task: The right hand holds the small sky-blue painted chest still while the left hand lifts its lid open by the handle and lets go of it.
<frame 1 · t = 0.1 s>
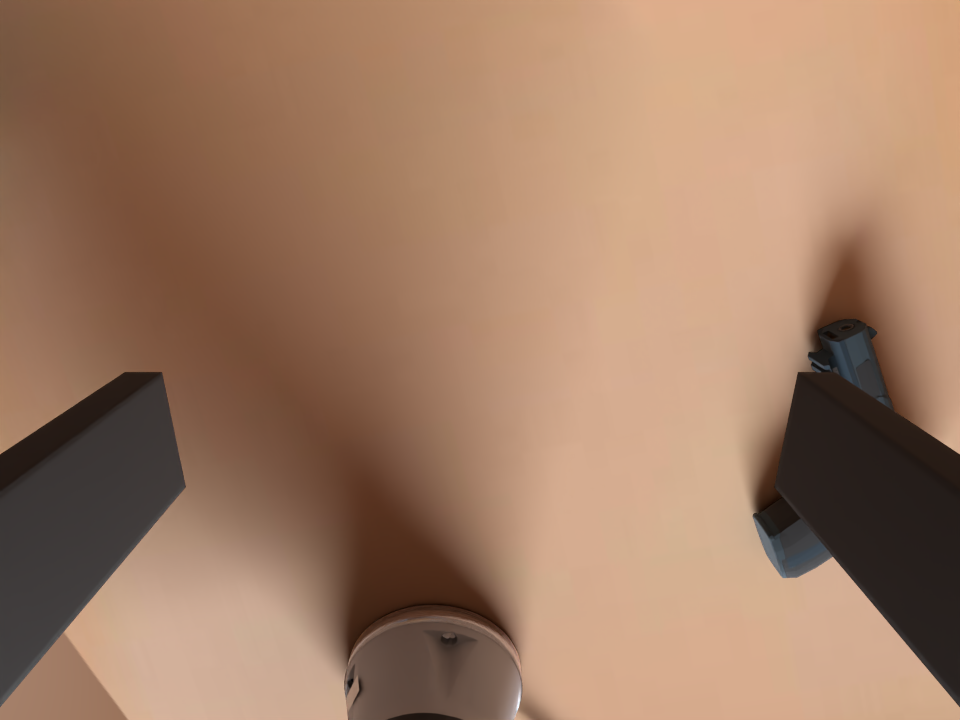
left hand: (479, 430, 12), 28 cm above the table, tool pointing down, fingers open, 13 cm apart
handgun: (808, 444, 44), on the table
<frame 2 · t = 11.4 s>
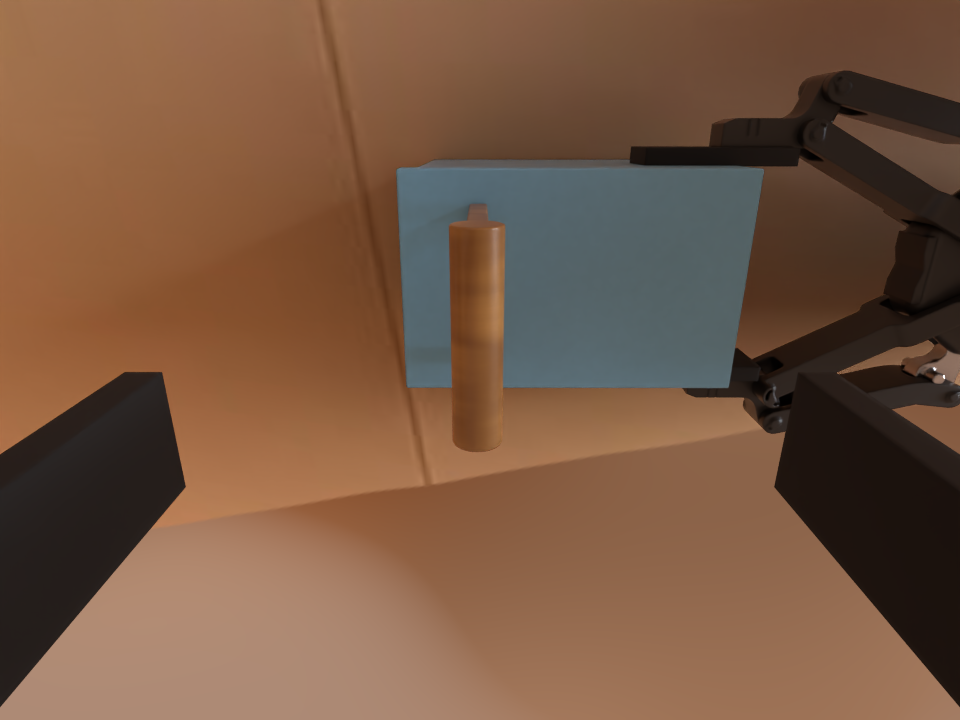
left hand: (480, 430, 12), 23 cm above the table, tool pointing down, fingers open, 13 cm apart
right hand: (627, 266, 28), fingers closed on chest, 9 cm apart
lid: (587, 307, 21), point 13 cm above the table, hinge at 0.0°
chest: (554, 244, 33), on the table, touching right hand
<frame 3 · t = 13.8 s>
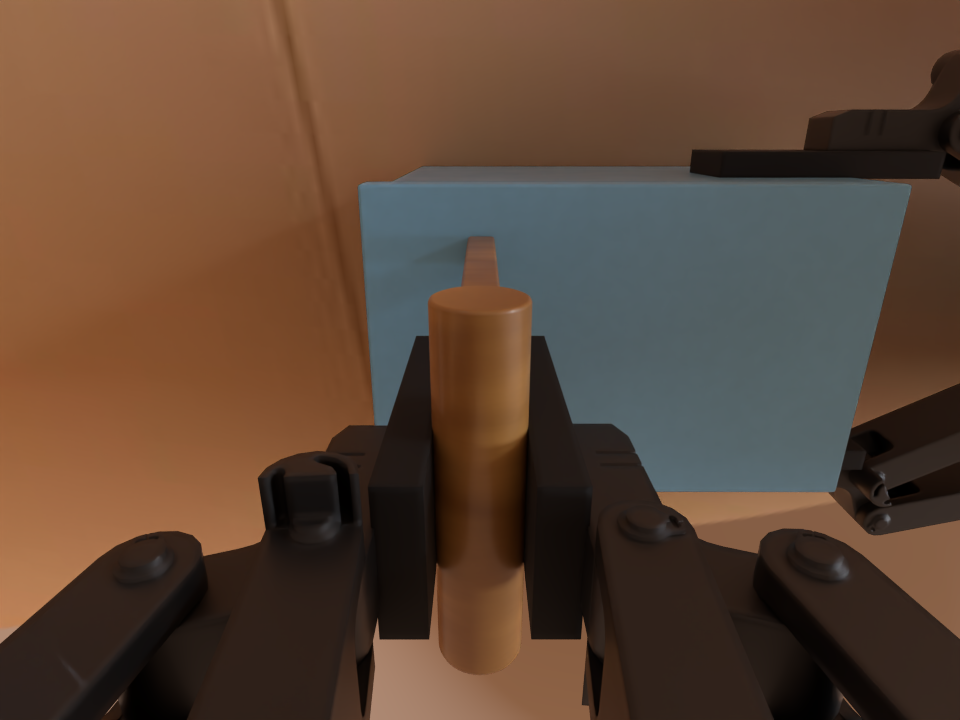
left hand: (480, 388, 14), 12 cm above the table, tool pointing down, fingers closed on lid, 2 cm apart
lid: (651, 403, 13), point 13 cm above the table, hinge at -0.1°, touching left hand
chest: (578, 276, 26), on the table, touching right hand
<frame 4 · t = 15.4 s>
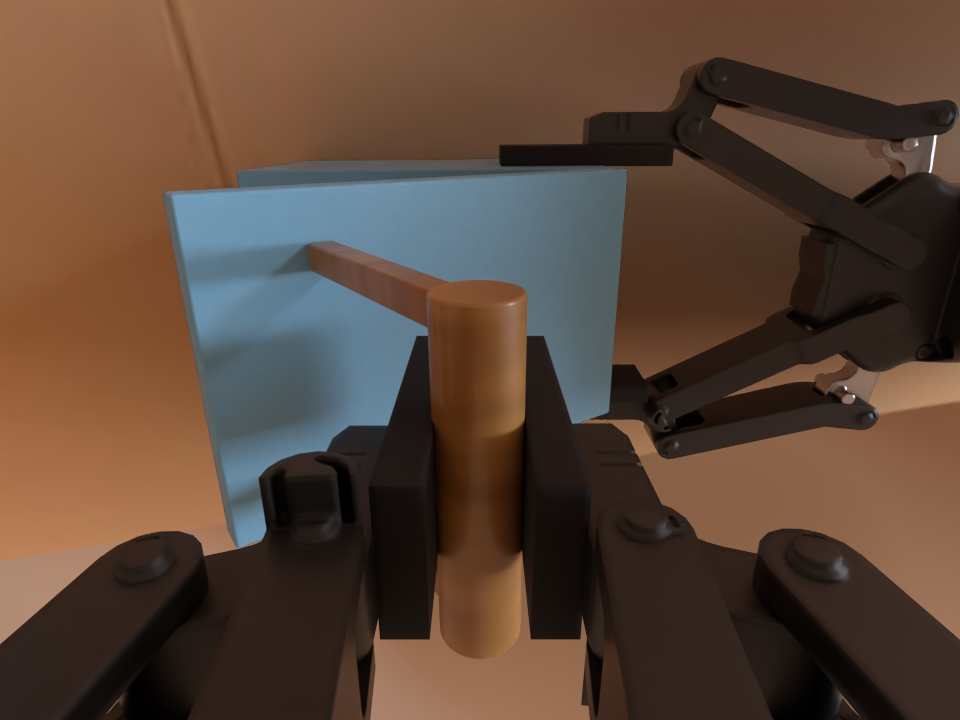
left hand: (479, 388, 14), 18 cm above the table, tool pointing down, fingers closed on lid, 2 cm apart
right hand: (499, 277, 25), fingers closed on chest, 9 cm apart
lid: (525, 370, 15), point 17 cm above the table, hinge at 35.1°, touching left hand
chest: (443, 252, 31), on the table, touching right hand
when the right hand's fingers open (6 cm above the table, at t = 20.8 s): chest stays where it is, on the table.
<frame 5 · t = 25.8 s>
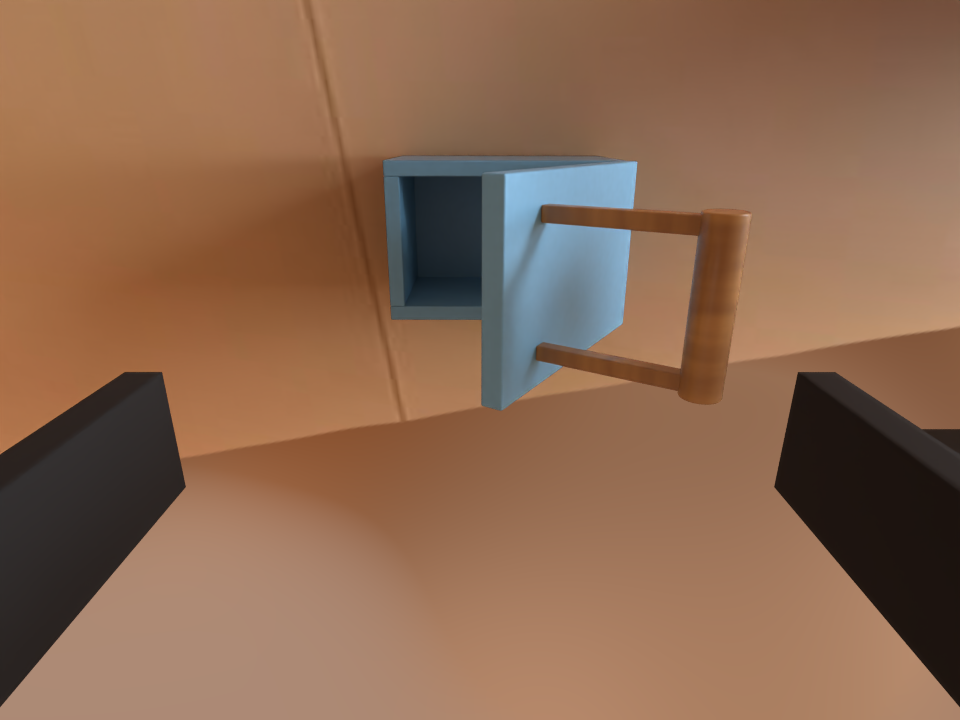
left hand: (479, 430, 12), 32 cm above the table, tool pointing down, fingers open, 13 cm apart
lid: (649, 277, 26), point 17 cm above the table, hinge at 57.5°
chest: (498, 223, 42), on the table
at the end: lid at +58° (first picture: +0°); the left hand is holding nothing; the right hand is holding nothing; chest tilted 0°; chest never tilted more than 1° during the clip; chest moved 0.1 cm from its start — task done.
